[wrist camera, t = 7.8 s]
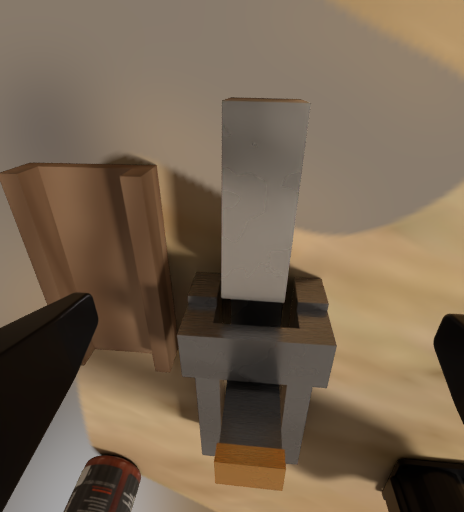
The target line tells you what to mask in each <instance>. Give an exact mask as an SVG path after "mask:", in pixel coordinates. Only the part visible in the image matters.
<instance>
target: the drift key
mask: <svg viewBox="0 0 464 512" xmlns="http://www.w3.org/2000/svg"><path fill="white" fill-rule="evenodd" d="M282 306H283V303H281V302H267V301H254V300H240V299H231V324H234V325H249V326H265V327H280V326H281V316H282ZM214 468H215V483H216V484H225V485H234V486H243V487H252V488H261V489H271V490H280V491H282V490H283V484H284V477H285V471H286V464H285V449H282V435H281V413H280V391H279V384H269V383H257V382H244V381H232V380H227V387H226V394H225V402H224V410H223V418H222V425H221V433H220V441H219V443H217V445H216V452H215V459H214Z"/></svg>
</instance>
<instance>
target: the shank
mask: <svg viewBox="0 0 464 512" xmlns="http://www.w3.org/2000/svg"><path fill="white" fill-rule="evenodd" d="M310 105H311V103H309V102H307V101H304V100H301V99H271V98H234V97H231V98H228V99H225V100H222V264H221V298H227V299H240V300H254V301H267V302H281V303H284V302H285V294H286V287H287V279H288V272H289V264H290V257H291V249H292V242H293V234H294V226H295V218H296V211H297V204H298V196H299V188H300V181H301V174H302V166H303V158H304V150H305V143H306V136H307V128H308V120H309V113H310Z"/></svg>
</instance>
